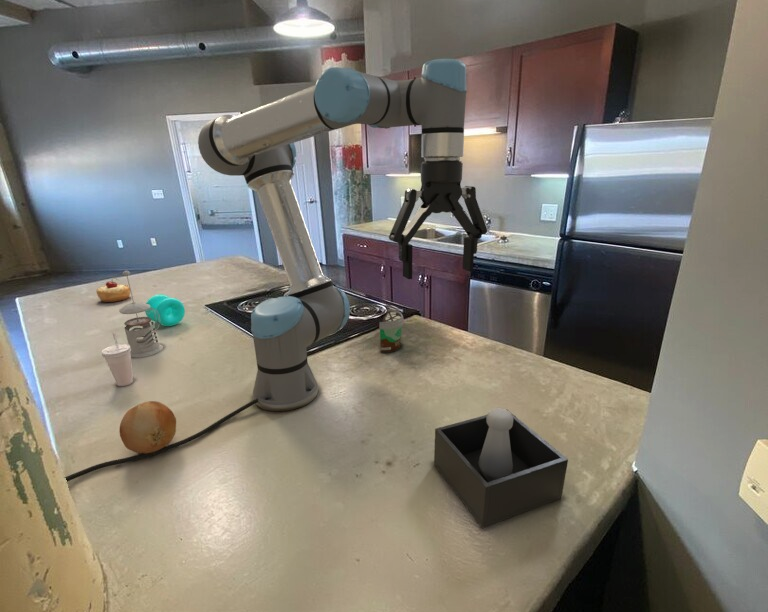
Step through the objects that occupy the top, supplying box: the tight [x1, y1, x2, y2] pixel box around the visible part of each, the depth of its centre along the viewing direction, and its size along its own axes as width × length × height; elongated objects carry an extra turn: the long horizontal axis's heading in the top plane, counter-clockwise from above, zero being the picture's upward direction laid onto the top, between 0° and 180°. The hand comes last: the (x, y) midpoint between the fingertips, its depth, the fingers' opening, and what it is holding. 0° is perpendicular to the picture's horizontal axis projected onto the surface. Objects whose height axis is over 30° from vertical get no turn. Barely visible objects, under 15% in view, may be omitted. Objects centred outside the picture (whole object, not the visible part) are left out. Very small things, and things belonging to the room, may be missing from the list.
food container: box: [378, 308, 405, 353], centre depth 125 cm, size 12×6×10 cm, turn 168°
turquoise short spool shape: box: [144, 294, 186, 327], centre depth 146 cm, size 10×10×10 cm
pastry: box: [95, 277, 131, 303], centre depth 174 cm, size 12×12×9 cm
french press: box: [118, 270, 164, 358], centre depth 123 cm, size 10×12×25 cm
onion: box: [119, 400, 177, 454], centre depth 82 cm, size 10×10×10 cm
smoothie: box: [101, 331, 134, 387], centre depth 106 cm, size 6×6×14 cm
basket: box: [433, 409, 569, 529], centre depth 72 cm, size 16×16×8 cm
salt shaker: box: [478, 407, 514, 482], centre depth 71 cm, size 6×6×13 cm
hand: (438, 273), depth 83 cm, fingers open, 13 cm apart
